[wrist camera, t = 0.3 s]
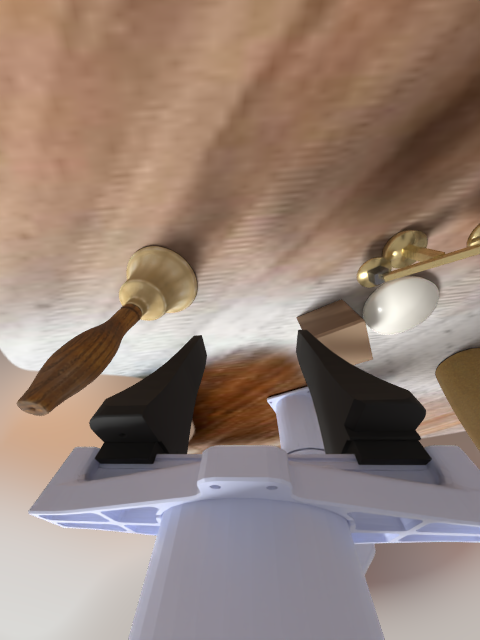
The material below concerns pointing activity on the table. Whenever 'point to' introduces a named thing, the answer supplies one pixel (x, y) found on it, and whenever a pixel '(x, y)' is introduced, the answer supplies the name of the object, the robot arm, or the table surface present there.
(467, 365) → the plant pot
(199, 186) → the table surface
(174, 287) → the hand bell
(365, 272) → the balance
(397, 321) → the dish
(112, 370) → the table surface
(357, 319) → the cover
